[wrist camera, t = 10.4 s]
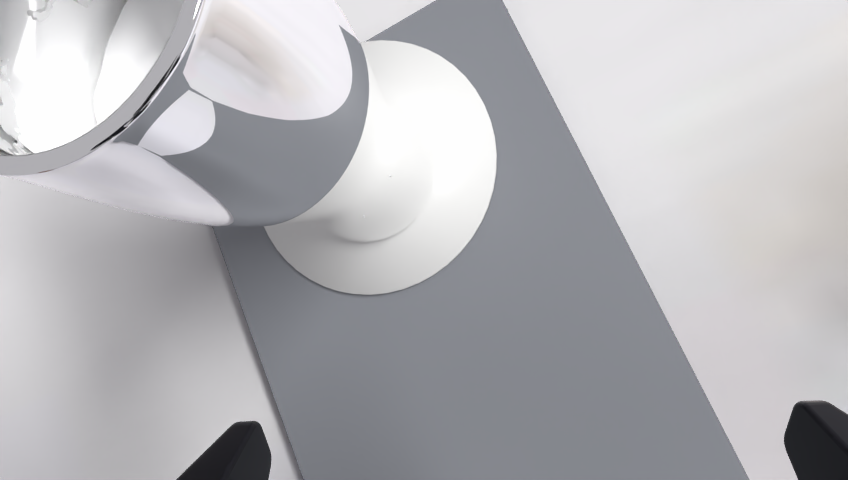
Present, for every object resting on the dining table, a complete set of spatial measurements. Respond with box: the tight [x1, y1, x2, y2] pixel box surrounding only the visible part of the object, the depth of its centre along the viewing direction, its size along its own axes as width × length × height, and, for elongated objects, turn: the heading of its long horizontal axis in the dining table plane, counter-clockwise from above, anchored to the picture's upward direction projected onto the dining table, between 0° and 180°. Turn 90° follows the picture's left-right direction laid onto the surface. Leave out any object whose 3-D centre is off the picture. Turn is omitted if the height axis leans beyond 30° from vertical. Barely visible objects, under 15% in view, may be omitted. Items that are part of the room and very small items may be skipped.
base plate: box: [212, 0, 749, 480], centre depth 22 cm, size 24×16×1 cm, turn 24°
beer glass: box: [0, 0, 436, 242], centre depth 16 cm, size 7×7×15 cm
